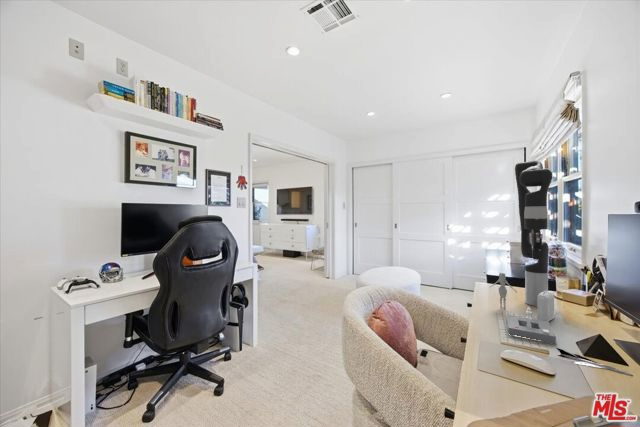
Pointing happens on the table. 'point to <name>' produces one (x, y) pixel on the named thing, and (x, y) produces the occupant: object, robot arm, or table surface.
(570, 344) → the table surface
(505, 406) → the table surface
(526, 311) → the chess piece
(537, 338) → the socket plate
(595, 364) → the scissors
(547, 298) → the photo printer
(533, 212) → the robot arm
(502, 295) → the human figurine
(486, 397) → the table surface
